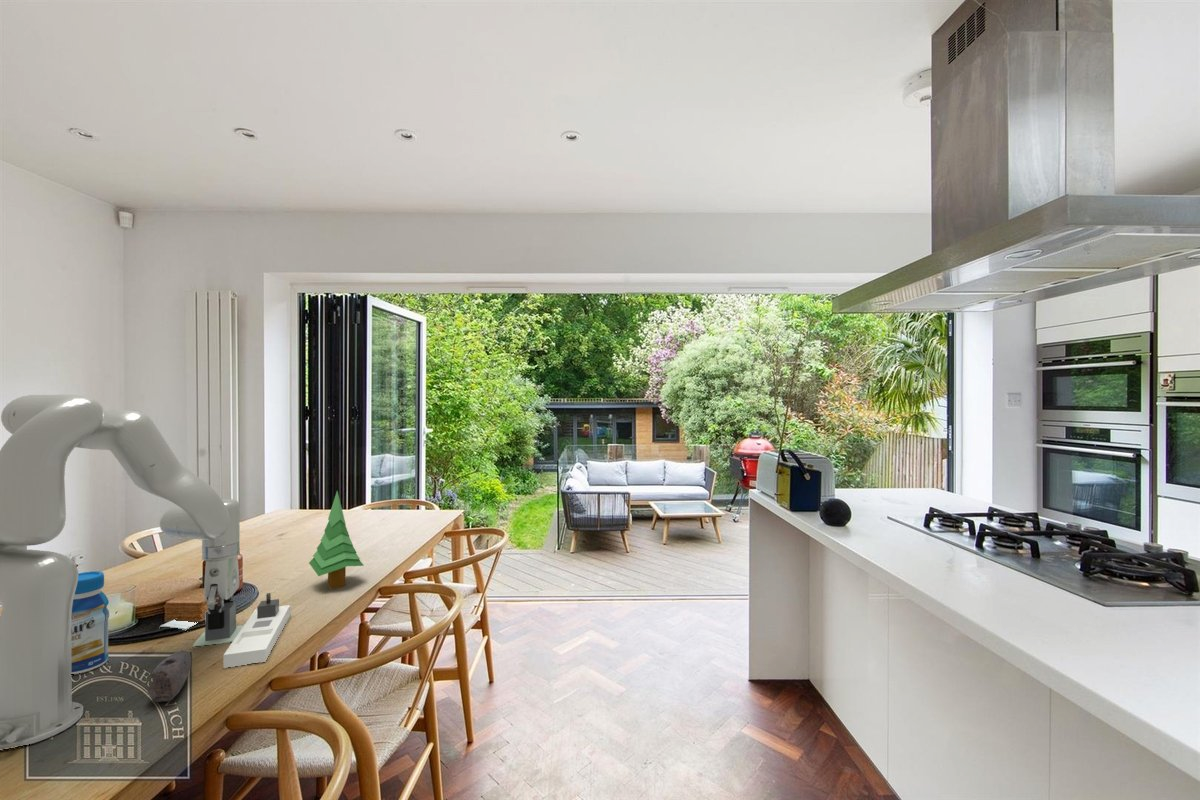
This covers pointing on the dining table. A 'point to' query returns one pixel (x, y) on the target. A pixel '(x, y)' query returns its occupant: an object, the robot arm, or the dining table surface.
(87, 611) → the supplement bottle
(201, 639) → the mat
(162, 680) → the perforated stone tool
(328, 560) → the decorative tree
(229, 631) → the charger
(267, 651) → the power strip
